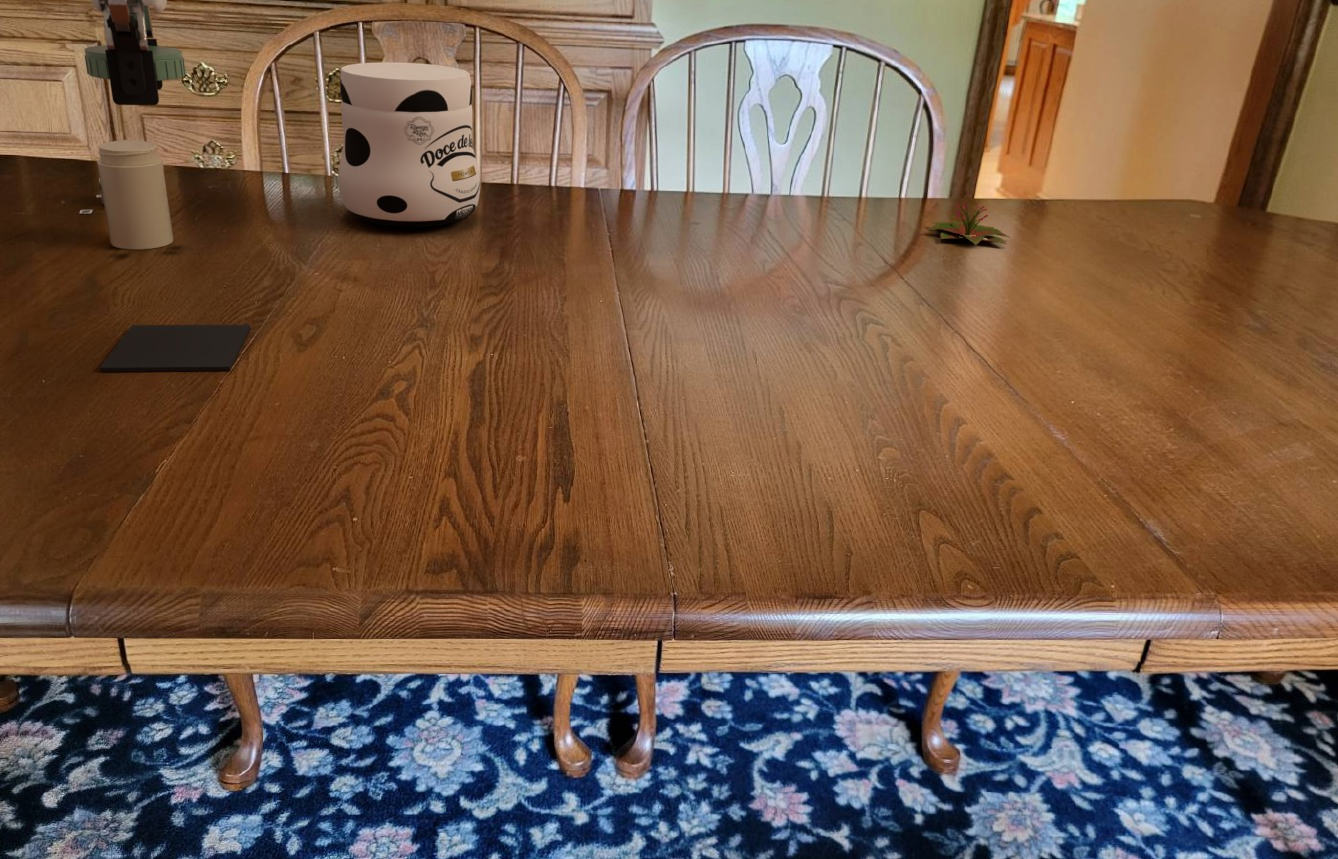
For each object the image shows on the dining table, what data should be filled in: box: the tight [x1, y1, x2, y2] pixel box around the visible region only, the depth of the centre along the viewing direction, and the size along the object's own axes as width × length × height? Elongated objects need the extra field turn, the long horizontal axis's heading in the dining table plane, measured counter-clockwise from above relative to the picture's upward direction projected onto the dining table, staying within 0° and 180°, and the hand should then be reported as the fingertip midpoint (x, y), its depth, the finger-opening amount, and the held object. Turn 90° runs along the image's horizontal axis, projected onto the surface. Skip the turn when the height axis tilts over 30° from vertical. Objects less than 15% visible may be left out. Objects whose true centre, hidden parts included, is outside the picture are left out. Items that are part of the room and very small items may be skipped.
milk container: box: [337, 61, 481, 228], centre depth 130 cm, size 17×17×18 cm
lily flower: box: [925, 202, 1010, 246], centre depth 143 cm, size 12×12×5 cm
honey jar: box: [96, 140, 174, 251], centre depth 116 cm, size 6×6×11 cm
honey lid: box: [84, 44, 187, 81], centre depth 84 cm, size 7×7×2 cm
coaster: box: [99, 324, 251, 373], centre depth 91 cm, size 10×10×1 cm
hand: (139, 94), depth 85 cm, fingers closed on honey lid, 7 cm apart
